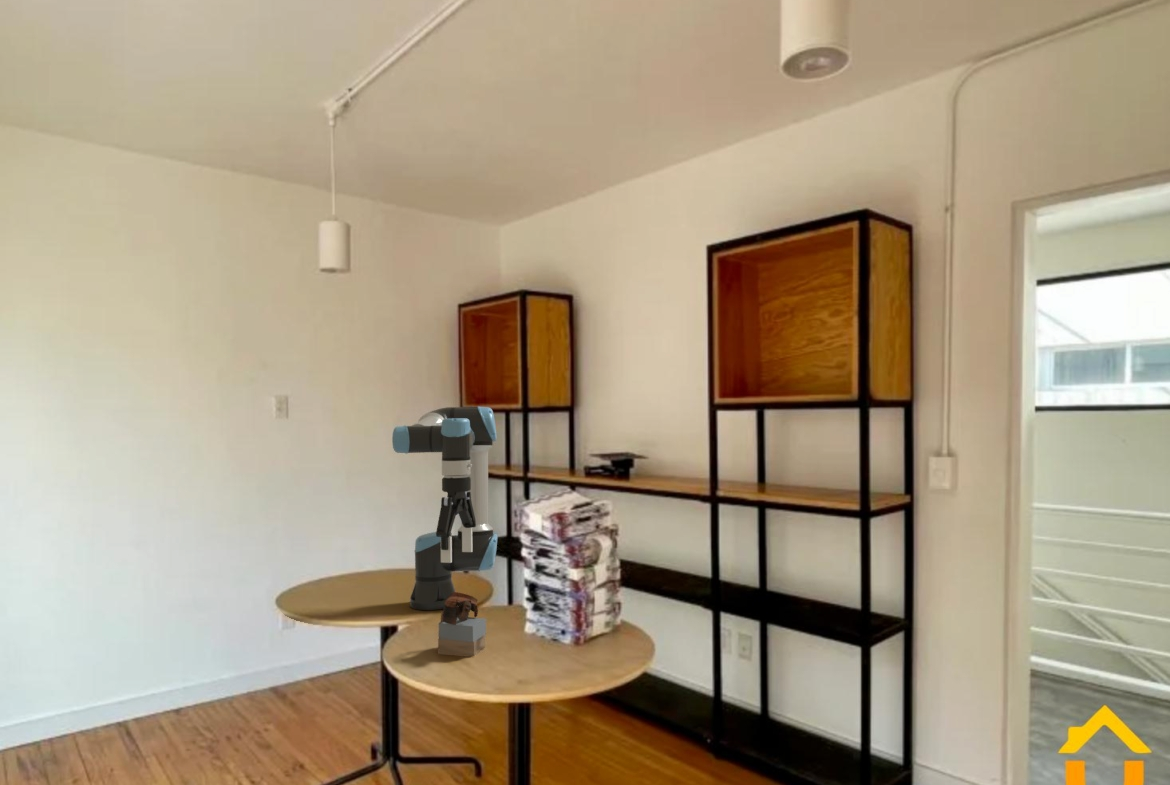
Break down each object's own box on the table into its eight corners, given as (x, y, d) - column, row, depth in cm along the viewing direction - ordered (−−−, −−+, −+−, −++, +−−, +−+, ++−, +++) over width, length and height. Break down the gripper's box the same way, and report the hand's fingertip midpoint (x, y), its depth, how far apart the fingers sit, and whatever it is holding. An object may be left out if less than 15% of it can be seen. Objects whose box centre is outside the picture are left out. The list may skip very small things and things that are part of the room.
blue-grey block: (452, 630, 185) (452, 615, 185) (486, 634, 182) (485, 618, 182) (438, 638, 178) (438, 623, 179) (473, 642, 175) (472, 626, 175)
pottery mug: (432, 622, 181) (443, 591, 185) (464, 633, 185) (474, 602, 189) (449, 620, 172) (460, 587, 176) (482, 631, 175) (492, 599, 179)
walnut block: (450, 646, 185) (450, 630, 185) (485, 648, 182) (484, 633, 182) (438, 654, 178) (438, 639, 178) (474, 657, 175) (474, 641, 176)
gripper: (449, 480, 170) (450, 567, 169) (486, 472, 194) (487, 548, 193) (421, 480, 172) (422, 566, 171) (462, 472, 196) (462, 547, 195)
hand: (457, 557), depth 182 cm, fingers open, 13 cm apart
